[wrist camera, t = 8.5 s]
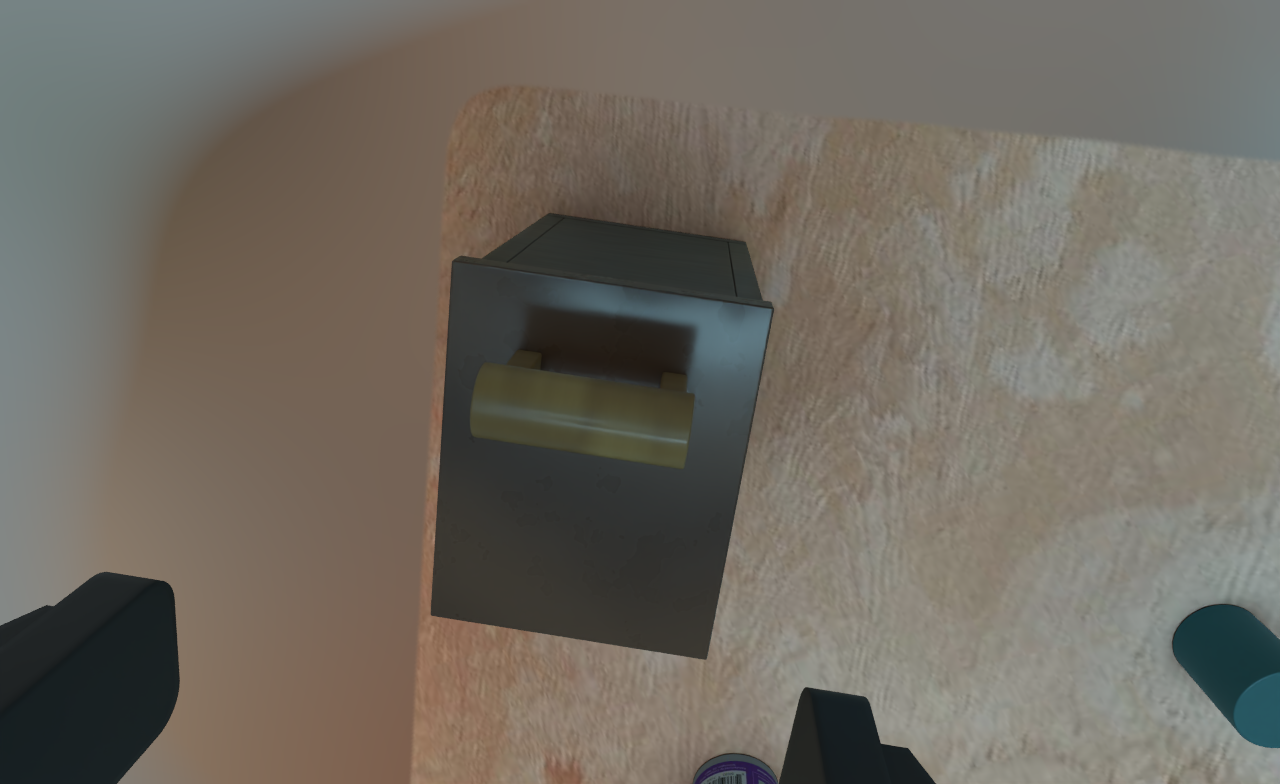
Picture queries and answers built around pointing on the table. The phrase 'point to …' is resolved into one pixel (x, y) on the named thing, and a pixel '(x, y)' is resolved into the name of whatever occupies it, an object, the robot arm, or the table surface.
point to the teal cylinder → (1235, 668)
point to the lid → (592, 453)
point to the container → (735, 771)
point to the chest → (634, 255)
